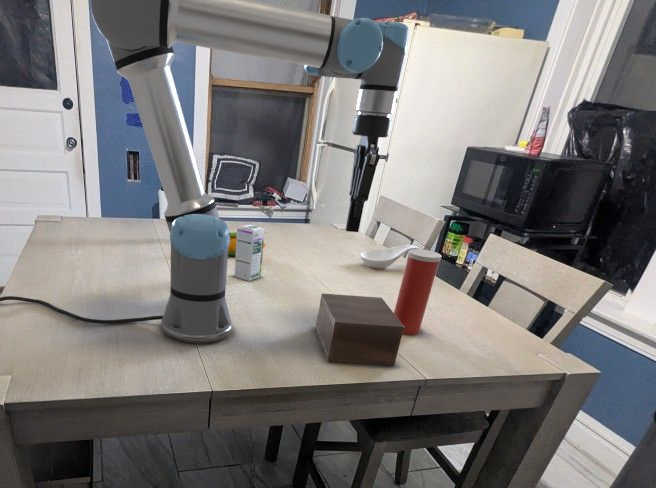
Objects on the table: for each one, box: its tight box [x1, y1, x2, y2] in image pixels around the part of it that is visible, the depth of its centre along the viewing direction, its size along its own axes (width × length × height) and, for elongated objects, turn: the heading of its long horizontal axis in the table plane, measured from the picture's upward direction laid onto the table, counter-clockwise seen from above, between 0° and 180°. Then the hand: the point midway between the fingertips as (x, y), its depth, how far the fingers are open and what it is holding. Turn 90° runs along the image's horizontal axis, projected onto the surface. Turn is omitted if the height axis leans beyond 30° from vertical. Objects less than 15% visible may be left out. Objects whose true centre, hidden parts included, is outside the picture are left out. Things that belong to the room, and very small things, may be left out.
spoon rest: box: [359, 244, 421, 270], centre depth 162 cm, size 24×12×7 cm, turn 102°
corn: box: [228, 232, 267, 257], centre depth 161 cm, size 7×8×20 cm
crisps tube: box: [393, 248, 442, 336], centre depth 111 cm, size 7×7×18 cm
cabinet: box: [315, 292, 404, 367], centre depth 103 cm, size 17×14×9 cm
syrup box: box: [233, 223, 266, 282], centre depth 139 cm, size 6×6×14 cm
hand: (351, 230), depth 112 cm, fingers closed
